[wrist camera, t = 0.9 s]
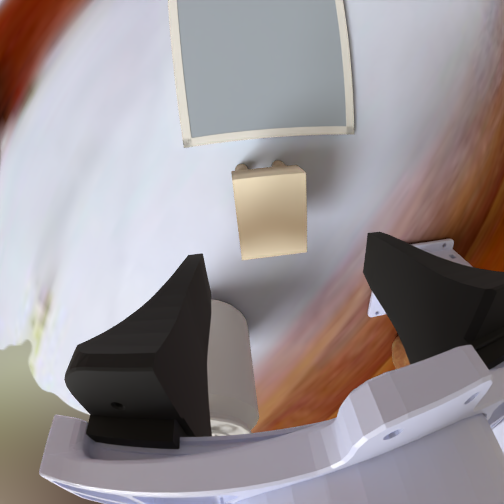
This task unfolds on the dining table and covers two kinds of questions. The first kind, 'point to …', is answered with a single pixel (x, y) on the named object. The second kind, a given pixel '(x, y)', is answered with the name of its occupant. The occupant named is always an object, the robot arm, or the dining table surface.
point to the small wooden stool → (270, 210)
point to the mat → (260, 69)
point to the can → (230, 373)
